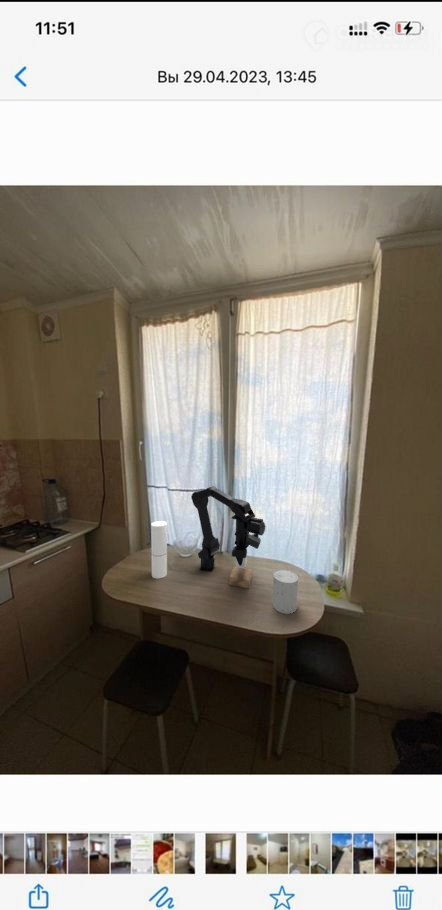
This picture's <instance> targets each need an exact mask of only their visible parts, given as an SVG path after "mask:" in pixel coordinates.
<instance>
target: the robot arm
mask: <svg viewBox="0 0 442 910" xmlns="http://www.w3.org/2000/svg"><path fill="white" fill-rule="evenodd" d="M190 497H191V500H192V505H193V506H194V507H195V508H196V510H197V513H198V518H199V522H200V529H201V532H202V537H203V538H202V543H201V549H202V550H200V551H199V552H198V553H197V556H198V558H199V559H200V568H199V571H207V572H213V571H214V569H215V567H216V557H215V555H216V554H217V553H218V551H219V550H220V546H221V545H220V542H219V537H215V536H214V534H213V533H214V532H213V529H212V523H211V519H210V514H209V510H208V504H209V497H211V498H214V499H215V500H216V501H218V502H220V503H222V504H223V505H225V506H226V507H228V508H229V509H230V511H231V512H232V513H233V514H234V515H233V516H232V517H231V519H232V520H235V531H234V536H235V538H234V539H235V540H234V545H235V546H234V547H232V549H231V556H232V557H234V558H235V560H236V559H237V561H238V564H239V565H240V566H242V562H243V558H246V556H247V557H248V547H249V546H250V547H252V548H254V549H259V547H260V545H261V541H262V540H261V537H259V536H263V535H264V534H265V532H266V524H265V522H264V519H263V518H257V517H256V514H255V512H254V511H253V509H252V508H251V503H250V502H248V500H247V501H246V500H243V499H240V498H239V499H238V498H235V497H233V496H232V495H230V494H227V493H226V492H224V491H223V490H221V489H219V488H217V487H216V486H210V487H206V489H201V490H197V491H194V492H192V493H191V495H190ZM250 533H251V534H250Z"/></svg>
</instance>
